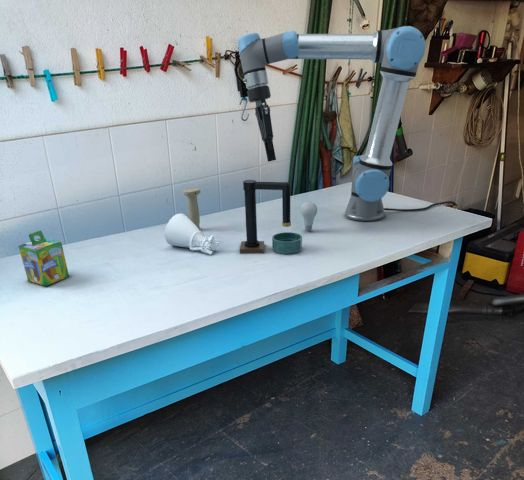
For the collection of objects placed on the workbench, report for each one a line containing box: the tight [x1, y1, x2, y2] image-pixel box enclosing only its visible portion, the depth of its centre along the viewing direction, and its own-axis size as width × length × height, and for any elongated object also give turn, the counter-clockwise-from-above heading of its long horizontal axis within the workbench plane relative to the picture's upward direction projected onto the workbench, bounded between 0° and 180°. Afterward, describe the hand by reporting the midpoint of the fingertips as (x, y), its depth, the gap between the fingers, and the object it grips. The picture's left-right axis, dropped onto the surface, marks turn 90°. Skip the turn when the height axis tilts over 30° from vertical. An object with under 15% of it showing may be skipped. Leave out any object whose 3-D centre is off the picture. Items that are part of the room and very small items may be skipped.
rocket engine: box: [164, 212, 221, 256], centre depth 179 cm, size 12×12×18 cm
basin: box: [271, 231, 303, 255], centre depth 177 cm, size 10×10×4 cm
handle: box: [182, 187, 201, 230], centre depth 196 cm, size 5×6×15 cm
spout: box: [242, 179, 292, 228], centre depth 171 cm, size 16×4×14 cm, turn 78°
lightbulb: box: [300, 201, 318, 232], centre depth 192 cm, size 6×6×11 cm
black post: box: [239, 189, 265, 254], centre depth 175 cm, size 8×8×20 cm
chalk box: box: [17, 230, 70, 287], centre depth 158 cm, size 9×9×15 cm
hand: (272, 160), depth 183 cm, fingers closed
